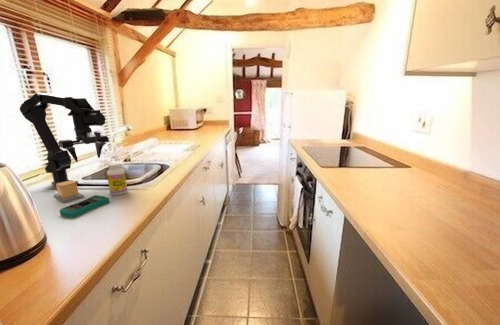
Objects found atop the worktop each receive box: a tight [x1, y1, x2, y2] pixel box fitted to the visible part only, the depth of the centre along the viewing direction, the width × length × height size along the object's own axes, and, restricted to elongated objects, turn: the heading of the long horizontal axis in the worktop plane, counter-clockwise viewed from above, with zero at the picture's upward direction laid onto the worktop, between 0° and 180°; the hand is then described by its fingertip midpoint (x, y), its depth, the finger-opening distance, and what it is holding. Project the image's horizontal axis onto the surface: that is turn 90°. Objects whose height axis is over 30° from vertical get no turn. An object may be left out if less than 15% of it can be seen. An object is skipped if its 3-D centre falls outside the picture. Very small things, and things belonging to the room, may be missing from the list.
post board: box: [53, 191, 85, 204], centre depth 105 cm, size 12×7×4 cm, turn 52°
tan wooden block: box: [55, 179, 80, 198], centre depth 104 cm, size 6×6×5 cm
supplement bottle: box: [106, 161, 128, 196], centre depth 107 cm, size 7×7×13 cm
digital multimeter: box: [59, 194, 111, 219], centre depth 93 cm, size 7×15×3 cm, turn 158°
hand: (88, 159), depth 117 cm, fingers open, 9 cm apart
